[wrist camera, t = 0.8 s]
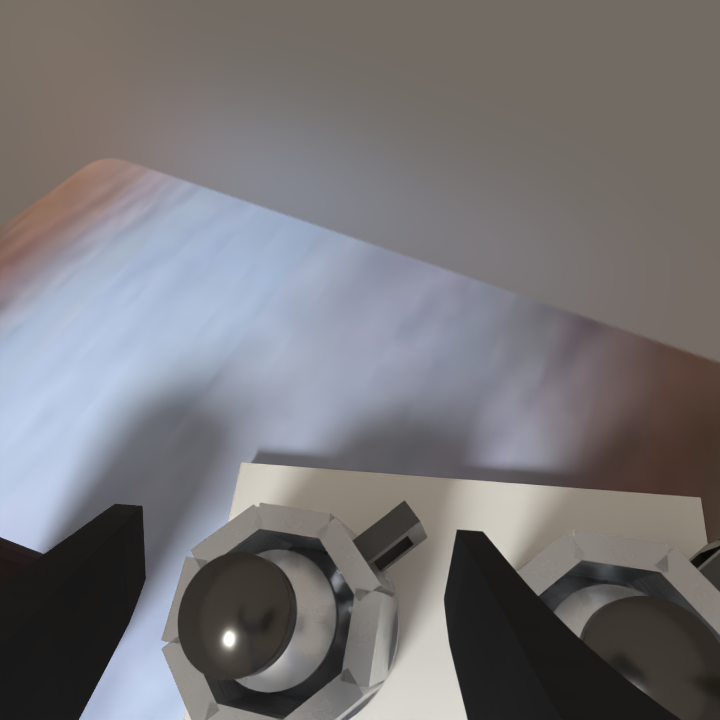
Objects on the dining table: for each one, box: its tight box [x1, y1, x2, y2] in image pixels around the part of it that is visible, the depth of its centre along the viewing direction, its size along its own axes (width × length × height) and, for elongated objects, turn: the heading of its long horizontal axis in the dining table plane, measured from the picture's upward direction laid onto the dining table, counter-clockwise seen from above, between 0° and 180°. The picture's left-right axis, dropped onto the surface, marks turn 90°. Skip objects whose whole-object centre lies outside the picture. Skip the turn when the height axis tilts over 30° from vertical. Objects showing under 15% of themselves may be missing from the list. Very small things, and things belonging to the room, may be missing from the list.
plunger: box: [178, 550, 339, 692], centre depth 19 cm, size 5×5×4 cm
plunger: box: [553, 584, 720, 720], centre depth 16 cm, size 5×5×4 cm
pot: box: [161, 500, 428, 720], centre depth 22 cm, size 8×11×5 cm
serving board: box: [184, 462, 708, 720], centre depth 24 cm, size 22×14×1 cm, turn 83°
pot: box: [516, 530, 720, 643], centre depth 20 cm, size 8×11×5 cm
